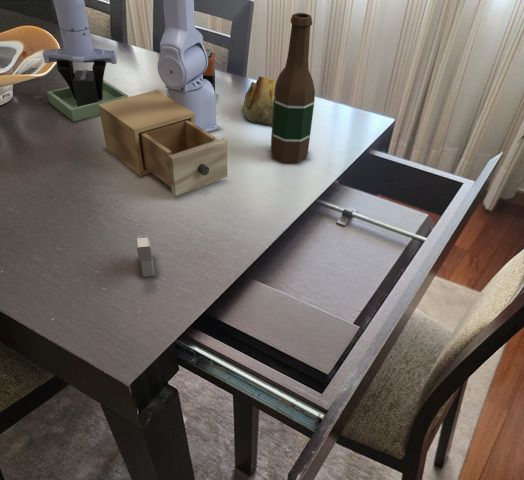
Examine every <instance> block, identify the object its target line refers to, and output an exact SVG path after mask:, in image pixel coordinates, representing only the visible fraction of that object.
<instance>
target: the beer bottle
mask: <svg viewBox="0 0 524 480" xmlns="http://www.w3.org/2000/svg"><path fill="white" fill-rule="evenodd" d="M290 24H291V29H290V35H289V44H288V50H287V57H286V61H285V66H284V67H283V69H282V70H281V72H280V73H279V75H278V77H277V79H276V80H277V82H276V84H275V92H274V104H273V119H272V125H271V135H270V152H271V158H272V159H273V160H275V161H278V162H280V163H282V164H299V163H301V162H303V161H305V160H306V159H307V158H308V153H309V147H310V139H311V131H312V123H313V115H314V108H315V99H316V98H315V96H316V89H315V83H314V80H313V77H312V74H311V72H310V70H309V68H310V67H309V57H310V56H309V54H310V36H311V26H312V25H313V19H312V15H310V14H308V13H305V12H297V13H294V14H291V18H290Z"/></svg>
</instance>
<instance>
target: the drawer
mask: <svg viewBox="0 0 524 480" xmlns="http://www.w3.org/2000/svg"><path fill="white" fill-rule="evenodd" d="M139 137H140V144H141V152H142V159H143V166H144V167H145V168H146V169H148V170H149V171H150V172H152V173H151V174H153V175H154V176H155V177H157V178H158V179H159V180H161V181H162V182H163V183H165V184H166V185H168V186H169V187H170V188H171V194H172V195H174V197H177V196H180V195H182V194H184V193H187V192H190V191H193V190H196V189H198V188H201V187H204V186H207V185H209V184H211V183H214V182H217V181H220V180H223V179H226V178H227V177H228V140H227V139H226V138H224V137H222V138H219V139H216V136H214V134H211V133H210V132H206V131H205V130H203V129H202V128H200V127H198V126H197V125H195V124H194V123H192V122H190V121H189V120H187V119H186V120H182V121H179V122H175V123H172V124H168V125H165V126H161V127H158V128H154V129H151V130H147V131H144V132H141V133H139Z"/></svg>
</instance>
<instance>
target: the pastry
mask: <svg viewBox="0 0 524 480" xmlns="http://www.w3.org/2000/svg"><path fill="white" fill-rule="evenodd" d="M276 82H277V79H275V78H270V77H265V76H261V75H260V76H258V78H257V80H256V82H254V81H252V82H251V83H250V86H249V87H248V89H247V91H246V92H245V95H244V101H243V104H242V108H241V109H242V112H243V115H244V116H245V117H246V119H247V120H248V121H250V122H254V123H258V124H263V125H270V126H272V119H273V104H274V92H275V84H276Z"/></svg>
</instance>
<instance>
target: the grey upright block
mask: <svg viewBox="0 0 524 480" xmlns="http://www.w3.org/2000/svg"><path fill="white" fill-rule="evenodd" d="M135 245H136V252H137V256H138V260H139V264H140V269H141V274H142V275H141V276H142V277H143V278H149V277H154V276H155V267H154V261H153V259H154V258H153V253H152V246H151V239H150V235H149V234H143V233H142V234H138V235H137V236H136V238H135Z"/></svg>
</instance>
